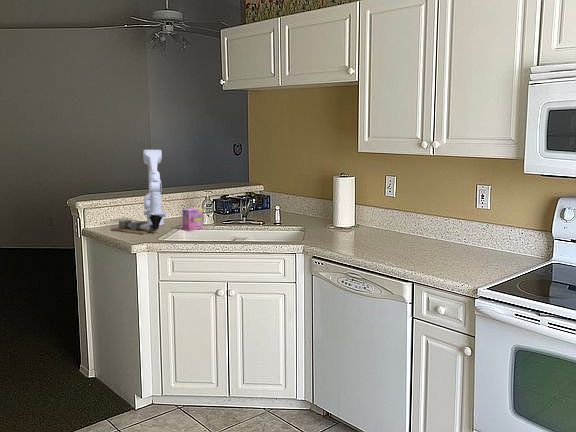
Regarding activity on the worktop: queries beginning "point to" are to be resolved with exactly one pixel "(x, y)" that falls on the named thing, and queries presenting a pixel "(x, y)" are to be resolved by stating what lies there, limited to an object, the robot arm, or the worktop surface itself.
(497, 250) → the worktop surface
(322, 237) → the worktop surface
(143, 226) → the shaft
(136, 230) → the bearing board
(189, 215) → the box
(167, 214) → the robot arm
